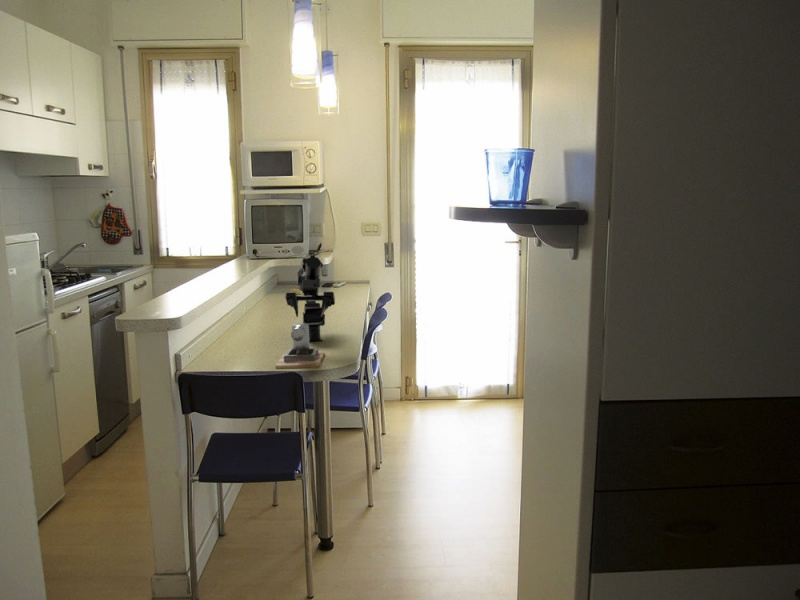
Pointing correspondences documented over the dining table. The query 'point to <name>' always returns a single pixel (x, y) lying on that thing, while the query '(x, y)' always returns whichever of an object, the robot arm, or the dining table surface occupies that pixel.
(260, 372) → the dining table surface
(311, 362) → the base
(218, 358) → the dining table surface
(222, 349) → the dining table surface
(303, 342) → the duct elbow
